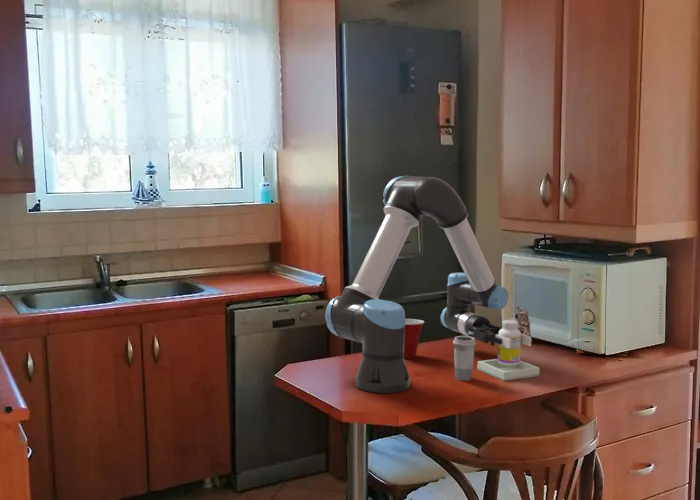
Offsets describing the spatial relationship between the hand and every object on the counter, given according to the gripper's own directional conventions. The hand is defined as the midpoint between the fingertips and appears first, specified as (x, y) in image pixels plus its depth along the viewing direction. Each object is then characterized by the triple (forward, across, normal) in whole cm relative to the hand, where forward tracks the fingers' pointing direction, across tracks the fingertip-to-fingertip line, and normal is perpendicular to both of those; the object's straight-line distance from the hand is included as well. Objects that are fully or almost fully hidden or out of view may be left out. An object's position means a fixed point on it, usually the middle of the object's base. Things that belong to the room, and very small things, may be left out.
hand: (520, 342), depth 220 cm
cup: (-5, +16, -10) cm, 20 cm away
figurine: (-36, -29, -11) cm, 47 cm away
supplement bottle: (-5, 0, -8) cm, 9 cm away
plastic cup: (-33, +19, -10) cm, 40 cm away
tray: (-5, 0, -10) cm, 11 cm away
